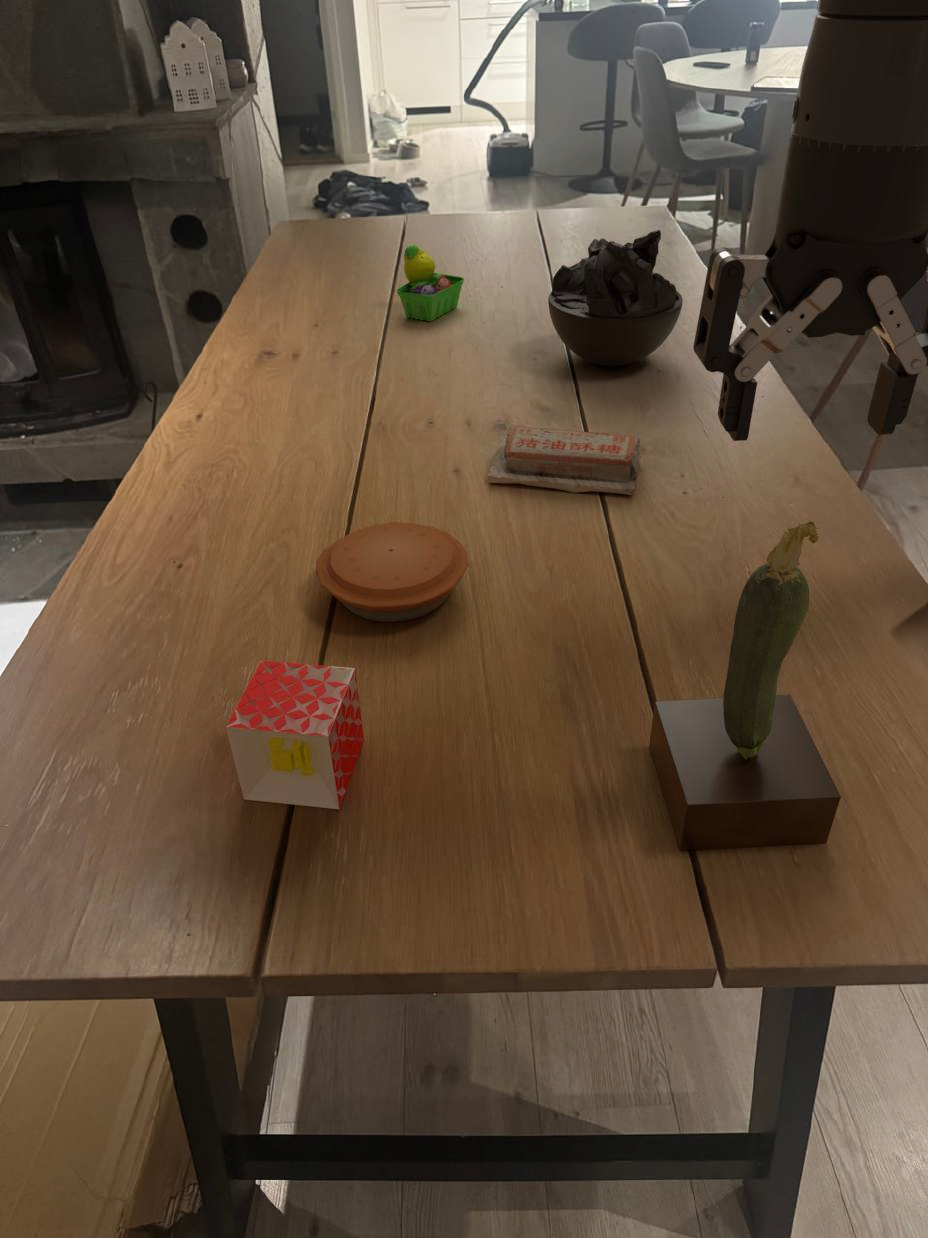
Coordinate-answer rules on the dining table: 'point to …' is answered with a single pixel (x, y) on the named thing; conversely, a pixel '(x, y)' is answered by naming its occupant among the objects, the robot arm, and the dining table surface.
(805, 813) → the block
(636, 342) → the bowl of black rocks
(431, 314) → the fruit basket
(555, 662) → the dining table surface
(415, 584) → the pie
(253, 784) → the red patterned cube box
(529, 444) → the packaged product
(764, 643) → the vegetable
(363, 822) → the dining table surface
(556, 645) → the dining table surface
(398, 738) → the dining table surface
